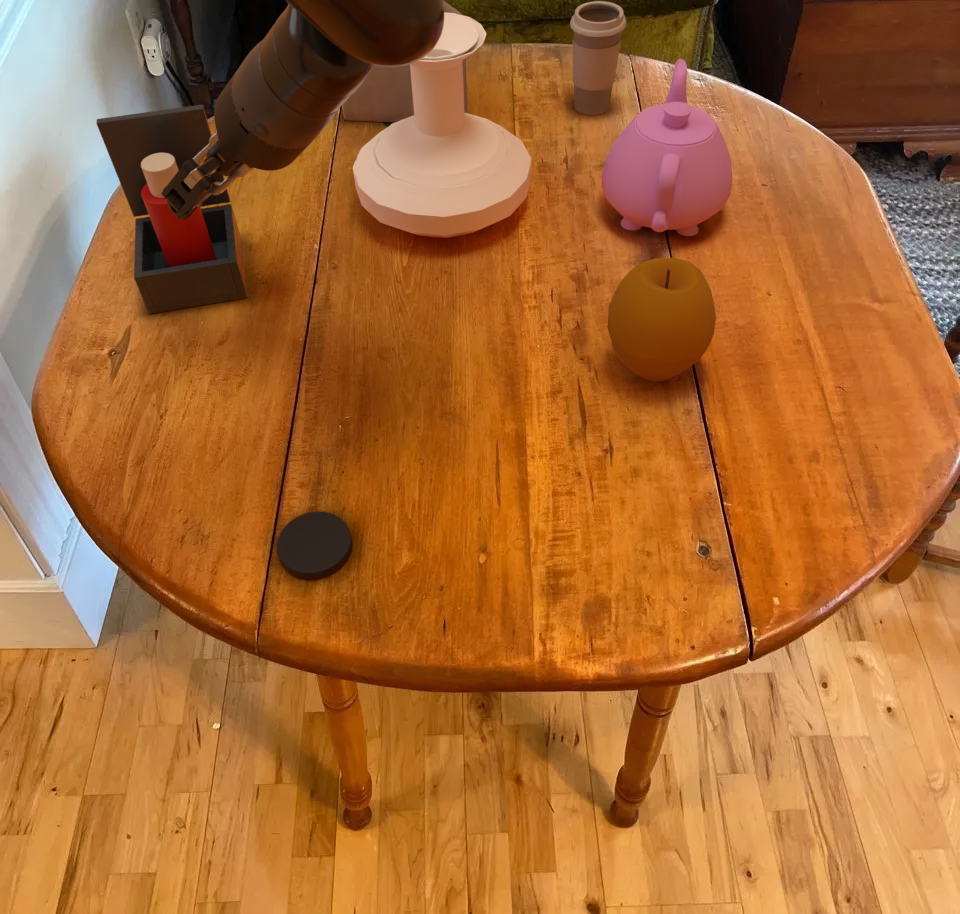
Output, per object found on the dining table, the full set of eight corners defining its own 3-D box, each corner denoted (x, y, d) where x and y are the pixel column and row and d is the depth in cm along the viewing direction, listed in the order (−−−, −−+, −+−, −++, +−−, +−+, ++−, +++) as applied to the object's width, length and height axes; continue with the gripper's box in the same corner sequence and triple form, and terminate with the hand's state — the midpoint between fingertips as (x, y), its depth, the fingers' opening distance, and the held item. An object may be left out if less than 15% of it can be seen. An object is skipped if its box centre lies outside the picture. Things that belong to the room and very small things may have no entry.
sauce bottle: (171, 288, 91) (130, 180, 81) (171, 259, 94) (131, 151, 84) (219, 280, 92) (184, 172, 82) (217, 252, 95) (183, 143, 85)
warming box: (247, 298, 91) (236, 261, 88) (149, 314, 90) (133, 277, 86) (241, 240, 98) (231, 203, 94) (149, 255, 96) (135, 218, 93)
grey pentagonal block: (475, 94, 116) (471, -64, 101) (467, 126, 112) (461, -35, 96) (356, 89, 118) (334, -68, 103) (343, 120, 113) (318, -40, 98)
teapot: (609, 152, 107) (619, 51, 97) (726, 163, 105) (749, 61, 95) (589, 253, 95) (599, 149, 85) (722, 267, 93) (747, 162, 83)
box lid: (203, 108, 85) (202, 104, 85) (96, 123, 83) (96, 118, 84) (230, 202, 93) (230, 197, 94) (133, 217, 92) (133, 212, 92)
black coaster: (282, 586, 69) (280, 580, 68) (276, 526, 73) (273, 519, 72) (357, 570, 70) (355, 564, 69) (347, 511, 74) (345, 504, 73)
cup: (597, 125, 111) (605, 30, 102) (554, 109, 114) (559, 15, 104) (628, 102, 114) (638, 8, 105) (585, 87, 117) (592, -6, 108)
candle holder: (355, 261, 95) (327, 92, 80) (361, 159, 107) (338, -4, 92) (538, 252, 95) (545, 82, 80) (523, 151, 108) (526, -13, 93)
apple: (630, 318, 88) (645, 220, 79) (720, 353, 85) (746, 255, 76) (584, 377, 83) (593, 280, 74) (677, 417, 80) (699, 320, 70)
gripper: (304, 23, 71) (233, 117, 84) (180, 102, 64) (123, 192, 76) (364, 101, 73) (286, 181, 86) (252, 186, 66) (184, 260, 79)
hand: (209, 186), depth 81 cm, fingers open, 8 cm apart
